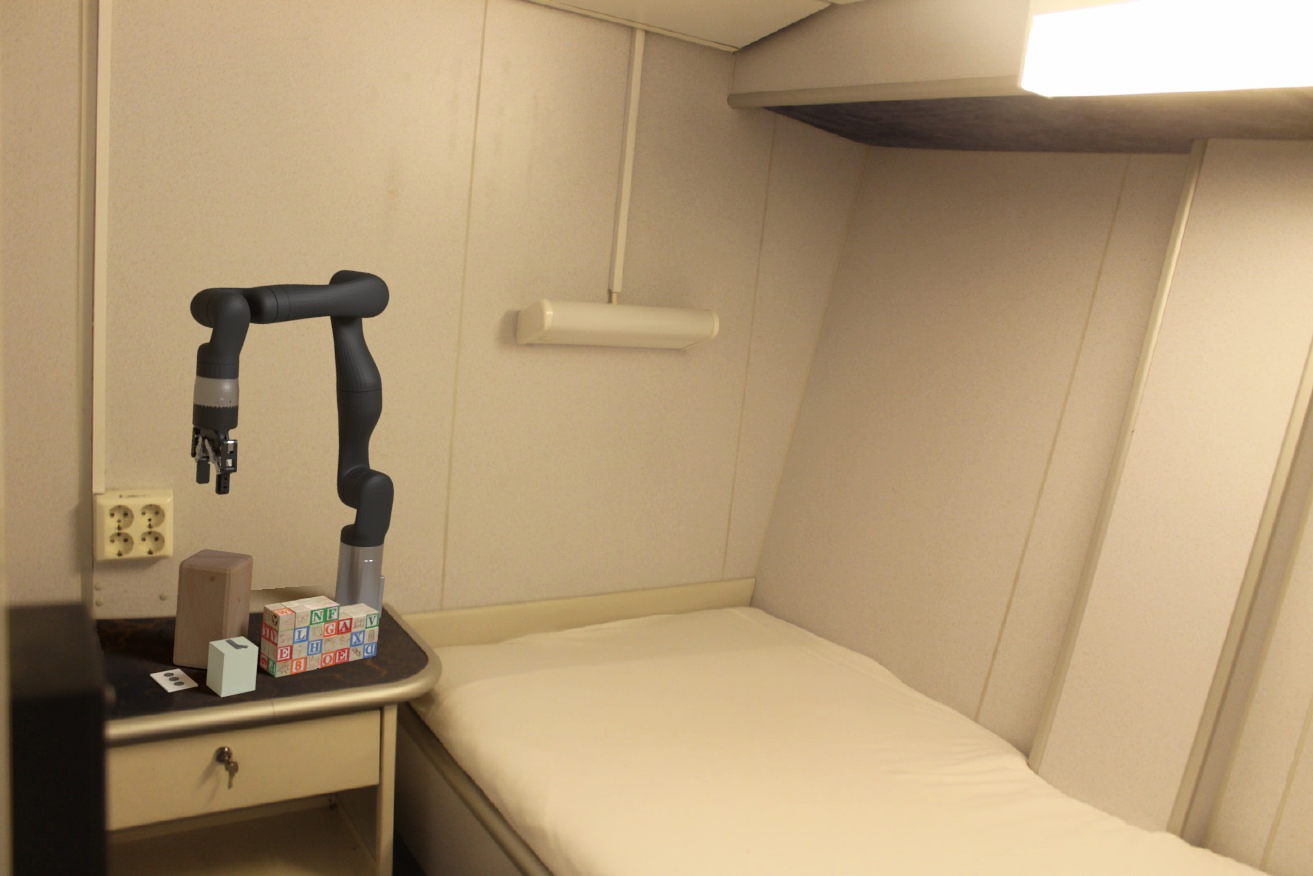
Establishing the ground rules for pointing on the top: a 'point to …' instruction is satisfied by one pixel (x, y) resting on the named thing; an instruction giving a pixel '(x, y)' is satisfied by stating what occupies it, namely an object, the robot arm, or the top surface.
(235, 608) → the wooden block
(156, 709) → the top surface
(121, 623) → the top surface
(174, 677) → the count card
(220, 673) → the digit block
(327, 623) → the stack of blocks
